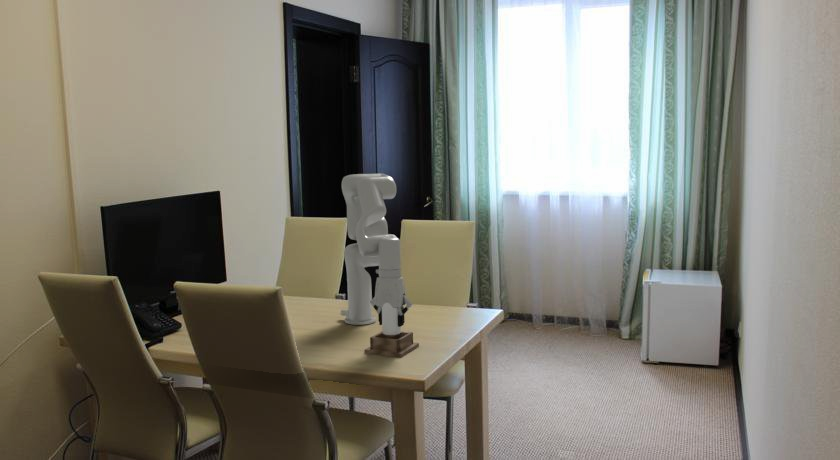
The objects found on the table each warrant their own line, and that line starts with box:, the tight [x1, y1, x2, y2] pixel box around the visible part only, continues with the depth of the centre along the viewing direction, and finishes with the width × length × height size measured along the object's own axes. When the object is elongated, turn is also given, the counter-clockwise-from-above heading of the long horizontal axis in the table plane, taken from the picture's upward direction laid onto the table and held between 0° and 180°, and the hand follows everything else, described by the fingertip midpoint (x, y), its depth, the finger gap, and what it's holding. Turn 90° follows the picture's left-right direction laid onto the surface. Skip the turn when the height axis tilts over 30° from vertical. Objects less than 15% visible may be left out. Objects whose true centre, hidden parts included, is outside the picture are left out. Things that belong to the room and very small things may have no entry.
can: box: [381, 301, 402, 336], centre depth 254 cm, size 6×6×12 cm
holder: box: [364, 330, 420, 358], centre depth 255 cm, size 14×14×5 cm
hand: (391, 324), depth 254 cm, fingers closed on can, 6 cm apart
